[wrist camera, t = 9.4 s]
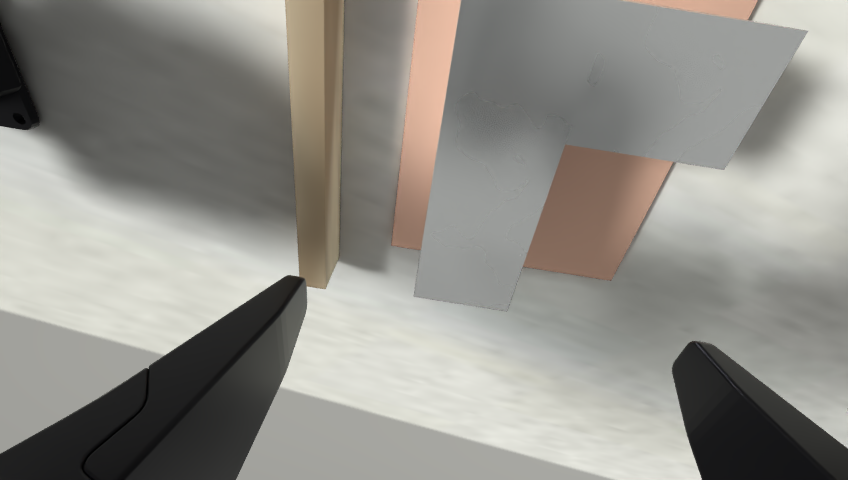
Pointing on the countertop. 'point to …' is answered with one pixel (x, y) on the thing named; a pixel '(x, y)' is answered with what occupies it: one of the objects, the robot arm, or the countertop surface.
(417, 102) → the pad
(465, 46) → the bracket
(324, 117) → the tan corner rail
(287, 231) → the countertop surface
